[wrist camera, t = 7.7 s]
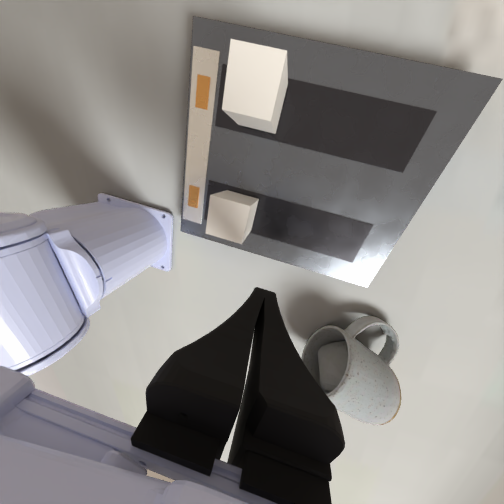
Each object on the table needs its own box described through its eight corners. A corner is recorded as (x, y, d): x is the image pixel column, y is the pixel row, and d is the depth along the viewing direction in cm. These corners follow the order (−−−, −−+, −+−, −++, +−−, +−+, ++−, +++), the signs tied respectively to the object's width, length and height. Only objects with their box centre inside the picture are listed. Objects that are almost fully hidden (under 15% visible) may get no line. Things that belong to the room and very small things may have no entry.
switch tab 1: (238, 124, 14) (221, 109, 11) (246, 74, 13) (230, 38, 9) (275, 134, 14) (270, 121, 10) (287, 83, 12) (287, 50, 9)
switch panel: (189, 226, 21) (179, 231, 19) (205, 35, 14) (192, 14, 12) (360, 276, 20) (367, 288, 18) (472, 92, 13) (505, 77, 11)
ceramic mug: (343, 373, 26) (363, 446, 19) (297, 344, 25) (301, 408, 18) (409, 334, 21) (467, 410, 15) (355, 297, 21) (389, 358, 14)
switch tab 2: (221, 221, 17) (205, 233, 14) (227, 190, 16) (210, 194, 13) (251, 230, 17) (241, 244, 14) (258, 198, 16) (250, 206, 12)
